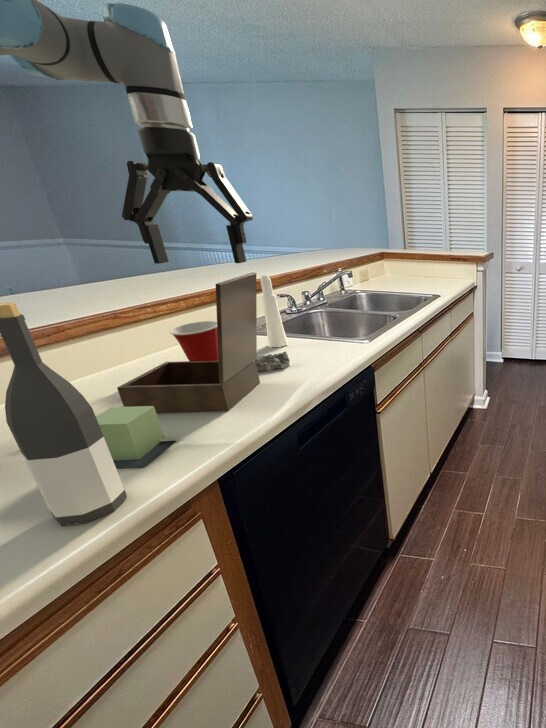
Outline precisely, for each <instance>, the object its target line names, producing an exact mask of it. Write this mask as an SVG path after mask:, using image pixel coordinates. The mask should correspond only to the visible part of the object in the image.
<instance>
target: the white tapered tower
mask: <svg viewBox="0 0 546 728" xmlns="http://www.w3.org/2000/svg"><path fill="white" fill-rule="evenodd" d="M259 281H260V285H261V290H262V295H261V298H262V307H263V313H264V320H265V326H266V337H267V347H268V348H272V347H278V348H283V347H282V346H284V347H286V346H285V345H287V344H288V343H289V340H288V338H287V334H286V332H285V329H284V324H283V321H282V317H281V312H280V309H279V305H278V301H277V296H276V294H275V293H274V290H273V284H272V280H271V278H270V276H269V274H260V279H259ZM289 344H290V343H289ZM289 344H288V345H289ZM288 345H287V346H288Z"/></svg>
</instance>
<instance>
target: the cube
mask: <svg viewBox="0 0 546 728" xmlns="http://www.w3.org/2000/svg"><path fill="white" fill-rule="evenodd" d="M157 414H158V413H156V411H155V408H154V406H135V407H124V406H112V407H110V408H108V409H106V410H104V411H102V412H100V413H99V414H98V415H95V416H96V419H97V421H98V424H99V426H100V429H101V431H102V434H103V436H104V439H105V441H106V444H107V446H108V449H109V452H110V454H111V457H112V459H113V460H136V459H140V458H142V457H143V456H144V455H146V454H147V453H148V452H149V451H151V450H152V449H153V448H154V447H156V446H157V445H158V444H160V443H161V442H162V441H163V439H165V435H164V432H163V429H162V426H161V423H160V421H159V417H158V415H157Z"/></svg>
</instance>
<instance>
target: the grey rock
mask: <svg viewBox="0 0 546 728" xmlns="http://www.w3.org/2000/svg"><path fill="white" fill-rule="evenodd" d="M290 361H291V360H290V358H289V355H288V353H287V351H283V352H278V353H274V354H271V353H269V354H267V355H261V356H257V359H255V362H256V366H257V371H258V373H259V372H263V371H266V372H269V371H273V370H275V369H281V370H283V369H287V368H288V367H290V366H291V365H290Z"/></svg>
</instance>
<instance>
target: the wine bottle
mask: <svg viewBox="0 0 546 728" xmlns="http://www.w3.org/2000/svg"><path fill="white" fill-rule="evenodd" d="M0 336H1V339H2V341H3V343H4V346H5V347H6V349H7V352H8V354H9V356H10V358H11V362H12V363H13V365H14V366H13V370H12V373H11V377H10V380H9V383H8V385H7V388H6V391H5V399H4V400H5V401H4V411H5V412H4V413H5V418H6V419H5V420H6V424H7V426H8V428H9V430H10V433H11V434H12V436H13V439H14V441H15V442H16V444H17V447H18V448H19V451H20V453H21V455H22V457H23V459H24V461H25V464H26V465H27V467H28V469H29V472H30V473H31V475H32V477H33V480H34V482H35V483H36V485H37V487H38V490H39V492H40V493H41V496H42V498H43V500H44V502H45V504H46V506H47V508H48V510H49V512H50V514H51V515H52V517H53V518H54V519H55V520H56V521H57V523H58V524H59V525H60V526H61V527H63V526H62V525H65V526H68V525H67V524H74V525H77V524H76V523H83V524H88V523H90V522H89V521H91V522H93V521H95V520H97V519H96V518H98V517H100V516H102V517H104V515H105V514H107V515H109V514H111V512H112V513H114V512H116V510H118V508H119V507H120V506H121V505H122V504H123V503H124V502H125V501H126V500H127V499H128V496H127V492H126V490H125V486H124V485H123V482H122V480H121V476H120V474H119V472H118V469H116V467H115V464H114V462H113V459H112V457H111V454H110V452H109V449H108V446H107V444H106V441H105V439H104V436H103V434H102V431H101V429H100V426H99V424H98V421H97V419H96V416H97V415H96V413H95V411H94V409H93V407H92V405H91V404H90V403H89V402H88V400H87V399H86V398H85V396H84V395H83V394H82V393H81V392H80V391H79V390H78V389H77V388H76V387H75V386H74V385H73V384H72V383H71V382H70V381H68V380H67V379H66V378H64V377H63V376H61V375H60V374H58V372H56V371H54V370H53V369H52V368H51V367H50V366H48V365H47V364H46V363H44V362H43V360H42V358H41V356H40V352H39V351H38V348H37V346H36V344H35V341H34V339H33V337H32V334H31V332H30V330H29V327H28V325H27V322H26V317H25V315H24V314H22V313H20V311H19V309H18V306H17V305H16V303H14V302H0ZM126 498H127V499H126ZM125 499H126V500H125ZM124 500H125V501H124ZM113 511H114V512H113ZM108 513H109V514H108ZM105 516H106V515H105ZM100 518H101V517H100ZM94 519H95V520H94ZM98 519H99V518H98ZM92 520H93V521H92ZM87 522H88V523H87Z"/></svg>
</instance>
